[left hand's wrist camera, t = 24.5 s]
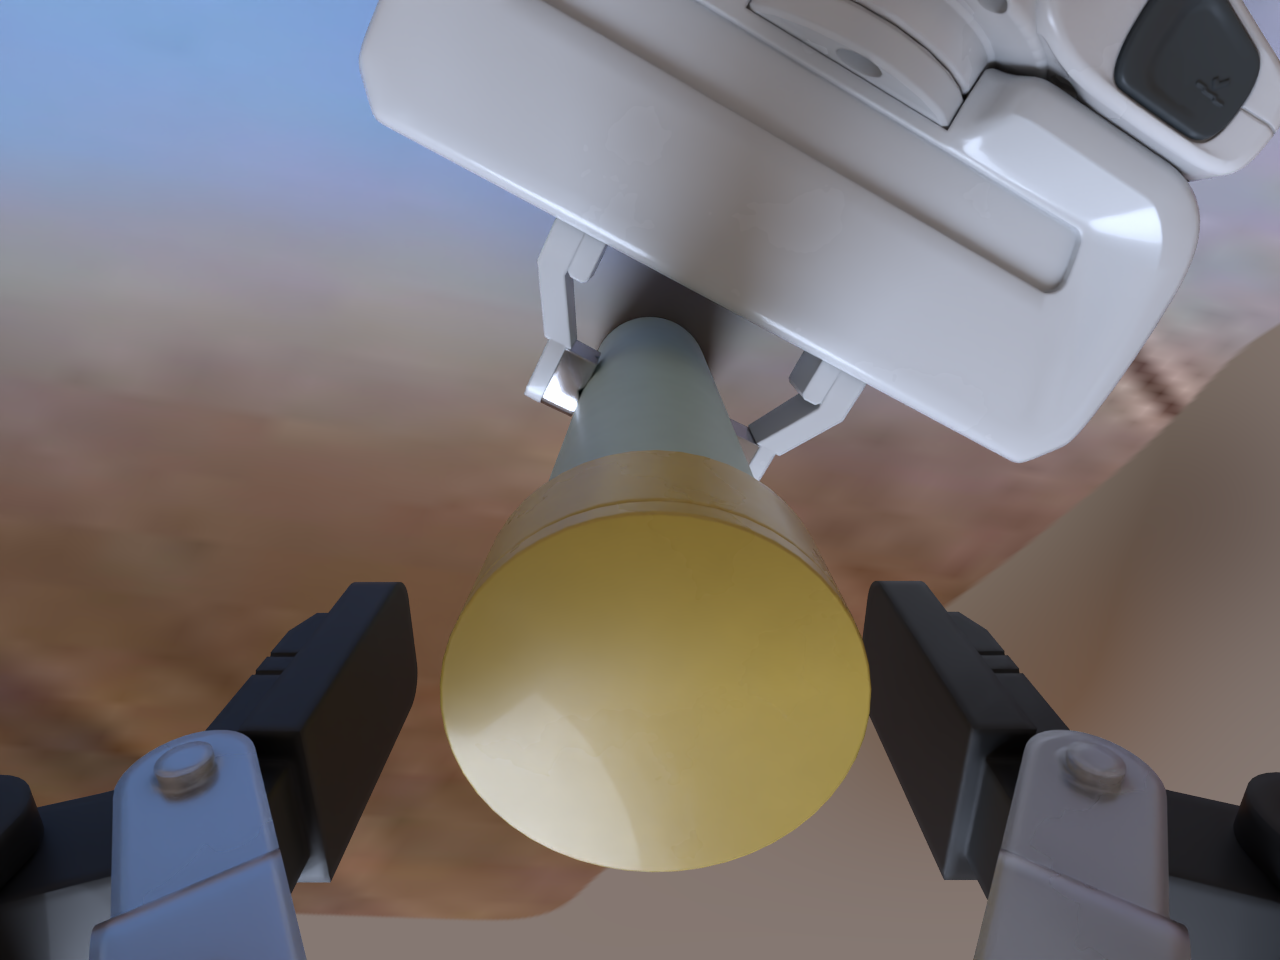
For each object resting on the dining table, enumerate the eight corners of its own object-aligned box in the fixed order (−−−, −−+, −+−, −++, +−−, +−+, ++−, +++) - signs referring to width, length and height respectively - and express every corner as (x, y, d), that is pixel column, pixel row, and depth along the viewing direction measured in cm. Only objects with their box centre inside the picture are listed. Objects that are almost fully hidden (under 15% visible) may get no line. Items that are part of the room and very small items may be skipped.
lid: (844, 449, 10) (899, 514, 8) (810, 755, 11) (847, 875, 9) (467, 447, 10) (418, 508, 8) (491, 751, 11) (456, 870, 9)
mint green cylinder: (597, 310, 26) (498, 500, 8) (713, 323, 26) (848, 536, 9) (588, 422, 27) (485, 781, 10) (697, 434, 27) (786, 809, 10)
